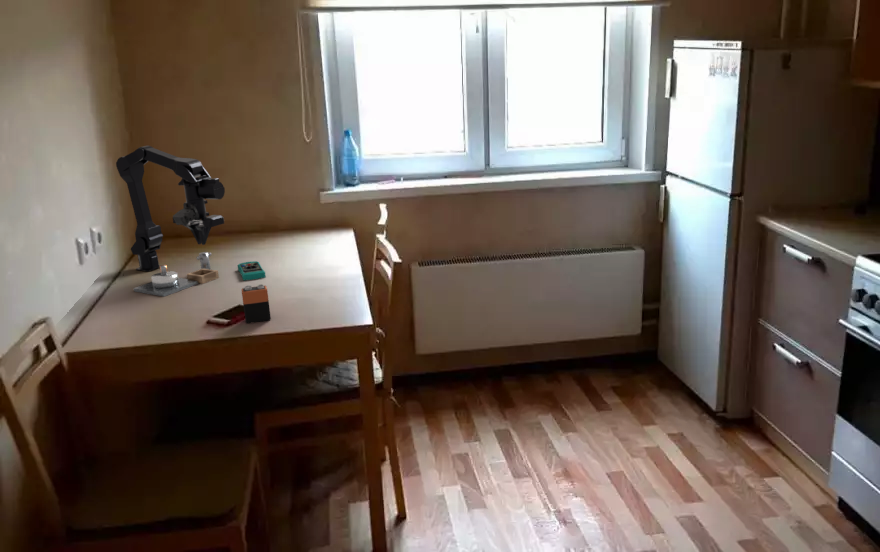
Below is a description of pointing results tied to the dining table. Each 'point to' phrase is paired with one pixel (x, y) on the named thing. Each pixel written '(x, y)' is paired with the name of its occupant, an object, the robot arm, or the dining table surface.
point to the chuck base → (166, 291)
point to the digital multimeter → (251, 270)
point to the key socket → (203, 275)
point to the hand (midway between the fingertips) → (201, 244)
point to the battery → (256, 303)
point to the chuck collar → (165, 278)
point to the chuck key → (204, 260)
